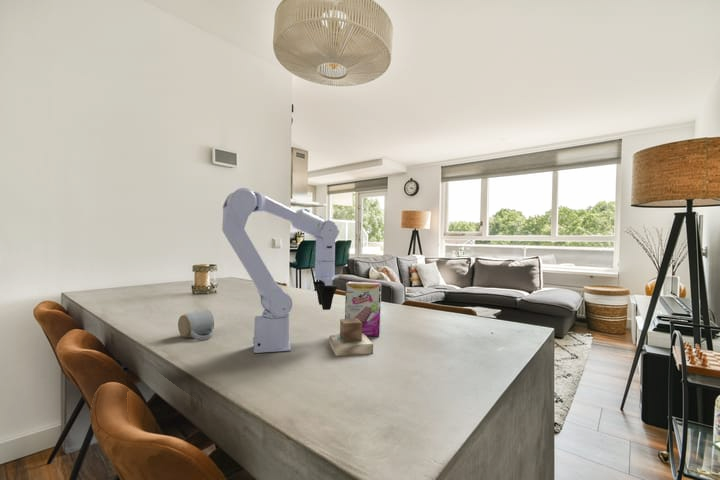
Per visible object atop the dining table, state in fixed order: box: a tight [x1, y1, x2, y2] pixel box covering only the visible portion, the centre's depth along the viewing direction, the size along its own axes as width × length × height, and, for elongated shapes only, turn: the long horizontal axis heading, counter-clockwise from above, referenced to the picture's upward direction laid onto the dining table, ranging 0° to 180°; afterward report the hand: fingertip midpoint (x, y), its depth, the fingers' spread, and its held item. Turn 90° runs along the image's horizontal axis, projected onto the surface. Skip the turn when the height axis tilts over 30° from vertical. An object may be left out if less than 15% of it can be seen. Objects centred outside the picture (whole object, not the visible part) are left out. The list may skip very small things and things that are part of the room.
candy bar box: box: [344, 281, 382, 338], centre depth 107 cm, size 11×5×16 cm, turn 84°
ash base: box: [329, 334, 374, 357], centre depth 93 cm, size 10×10×3 cm
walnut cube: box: [339, 318, 362, 342], centre depth 93 cm, size 5×5×5 cm
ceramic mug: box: [177, 308, 215, 341], centre depth 102 cm, size 11×8×8 cm
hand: (324, 307), depth 100 cm, fingers open, 7 cm apart
